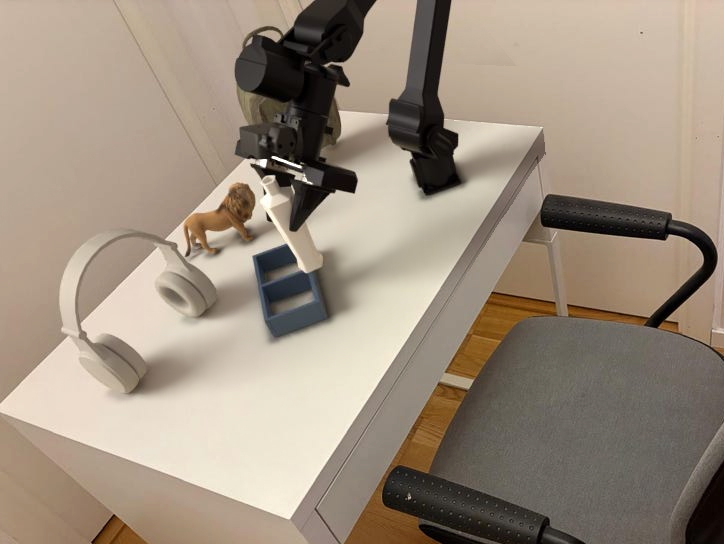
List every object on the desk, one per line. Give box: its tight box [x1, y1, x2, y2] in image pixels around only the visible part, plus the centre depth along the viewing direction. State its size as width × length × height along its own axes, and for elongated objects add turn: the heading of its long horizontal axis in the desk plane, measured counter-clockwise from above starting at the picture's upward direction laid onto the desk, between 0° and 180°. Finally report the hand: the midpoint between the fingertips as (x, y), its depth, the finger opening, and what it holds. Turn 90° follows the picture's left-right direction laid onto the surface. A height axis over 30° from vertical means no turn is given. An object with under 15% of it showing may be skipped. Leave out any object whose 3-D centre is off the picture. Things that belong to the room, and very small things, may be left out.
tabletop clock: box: [235, 25, 342, 160], centre depth 126 cm, size 14×9×25 cm, turn 120°
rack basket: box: [251, 242, 329, 339], centre depth 111 cm, size 8×16×4 cm, turn 18°
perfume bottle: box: [259, 175, 324, 273], centre depth 103 cm, size 5×4×15 cm
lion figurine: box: [183, 181, 257, 258], centre depth 121 cm, size 15×5×9 cm, turn 116°
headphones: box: [58, 227, 218, 394], centre depth 103 cm, size 20×8×19 cm, turn 152°
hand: (281, 226), depth 102 cm, fingers closed on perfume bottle, 4 cm apart
